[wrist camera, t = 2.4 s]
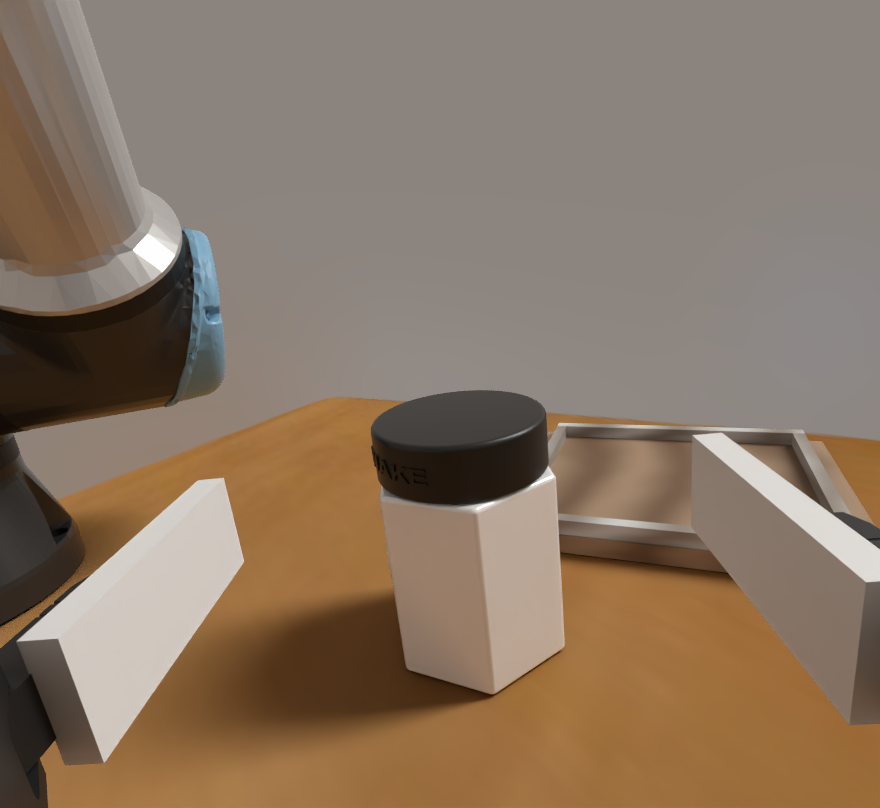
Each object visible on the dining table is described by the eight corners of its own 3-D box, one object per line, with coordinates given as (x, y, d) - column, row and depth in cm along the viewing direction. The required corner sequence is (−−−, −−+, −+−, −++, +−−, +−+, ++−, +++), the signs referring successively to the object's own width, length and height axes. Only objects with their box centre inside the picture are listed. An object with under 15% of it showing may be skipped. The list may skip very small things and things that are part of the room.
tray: (489, 543, 36) (486, 514, 36) (545, 443, 52) (544, 421, 51) (901, 593, 28) (907, 556, 27) (820, 455, 43) (823, 429, 43)
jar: (402, 588, 33) (373, 398, 29) (535, 570, 33) (522, 380, 30) (402, 710, 24) (361, 463, 21) (582, 685, 24) (571, 436, 21)
